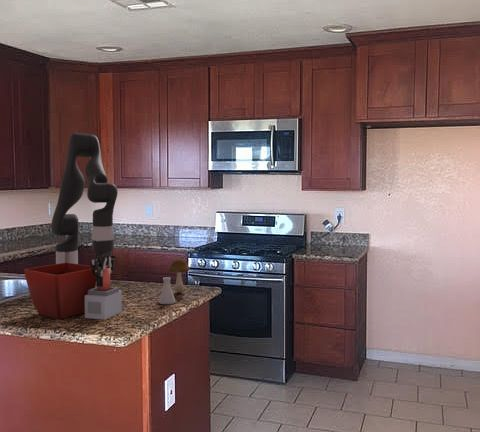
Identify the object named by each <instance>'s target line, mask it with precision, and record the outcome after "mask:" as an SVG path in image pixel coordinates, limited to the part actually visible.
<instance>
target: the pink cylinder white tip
mask: <svg viewBox="0 0 480 432" xmlns="http://www.w3.org/2000/svg"><path fill="white" fill-rule="evenodd" d="M99 271H100V270H99ZM96 287H97V286H96ZM110 287H111V274H110V268H106V266H105V270H104V271H103V286H102V287H97V289H98V290H109V289H110Z"/></svg>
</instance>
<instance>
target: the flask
mask: <svg viewBox="0 0 480 432" xmlns="http://www.w3.org/2000/svg"><path fill="white" fill-rule="evenodd" d="M162 280H163V284H162V290H161V293H160V296H159V298H158V302H157V303H158V304H161V305H172V304H176V298H175V296H174V292H173V290H172V287H171V277H170V276H169V277H167V276H166V277H163V278H162Z"/></svg>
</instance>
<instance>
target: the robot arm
mask: <svg viewBox="0 0 480 432" xmlns="http://www.w3.org/2000/svg"><path fill="white" fill-rule="evenodd" d="M67 146H68V147H67V154H66V161H65V166H64V167H65V168H64V172H63V175H62V178H61V183H60V188H59V194H58V199H57V203H56V206H55V209H54V212H53V216H52V220H51V224H50V226H51V232H52V234H53V235H54V236H68V237H67V238H66V239H65V240H63V241H61V242H58V243H57V244H56V245H55V264H60V263H74V264H79V251H78V249H79V231H80V228H79V227H80V225H79V224H80V223H79V222H80V221H79V218H78V215H76V214H75V213H68V211H69V210H70V209H72V207H74V205H76V204H77V203H78V202H79V200H81V198H82V196H83V194H84V190H85V184H86V181H87V192H86V193H87V194H86V195H87V199H88V200H89V201H90V202H91V203H94V204H95V203H97V204H98V203H99V204H100V203H102V204H103V203H104V204H105V206H104V207H102V208H97V209H95V210H93V212H92V231H91V239H92V240H91V241H92V242H91V244H92V245H91V246H92V247H91V248H92V249H91V251H92V252H93V253H95V255H94V259H89V260H90V261H89V264H90V265H89V266H91V270H92V275H95V276H96V285H95V287H102V286H103V271H104V270H105V266H106V268H110V275H111V274H112V273H113V272H114V271H115V264H116V255H115V254H112V252H114V251H115V250H114V249H115V247H114V246H115V243H114V242H115V241H114V239H115V238H114V235H115V234H114V224H113V223H114V222H113V219H114V218H113V217H114V216H113V215H114V209H115V204H116V201H117V198H118V193H119V191H118V187H117V185H116V184H114V182H113V183H112V182H108V176H107V174H106V171H105V168H104V166H103V159H102V151H101V145H100V141H99V139H98V137H97V136H96V135H95V134H91V133H82V132H73V133H71V135H70V138H69V140H68V145H67ZM78 157H79V158H80V157H81V158H90V159H89V161H88V162H87V163H86V165H85V168H84V173H85V177H86V181H85V177H84V174H83V173H82V171H81V170H80V167H79V166H78V164H77V163H78V162H77V158H78ZM95 270H96V271H95ZM99 270H100V271H99Z"/></svg>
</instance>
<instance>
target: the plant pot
mask: <svg viewBox="0 0 480 432" xmlns="http://www.w3.org/2000/svg"><path fill="white" fill-rule="evenodd" d="M23 271H24V277H25V281H26V285H27V289H28V291H29V295H30V298H31V300H32V302H33V305H34V308H35V310H36V312H37V314H38V315H40V316H45V317H48V318H53V319H56V320H57V319H58V320H62V319H66V318H70V317H73V316H78V315H83V314H85V295H88V290H90V289H93V288H96V276H95V275H92V270H91V265H87V264H86V265H85V264H79V263H78V264H74V263H60V264H56V263H54V264H49V265H42V266H41V265H40V266H35V267H30V268H25V269H23ZM95 271H96V270H95Z"/></svg>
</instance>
